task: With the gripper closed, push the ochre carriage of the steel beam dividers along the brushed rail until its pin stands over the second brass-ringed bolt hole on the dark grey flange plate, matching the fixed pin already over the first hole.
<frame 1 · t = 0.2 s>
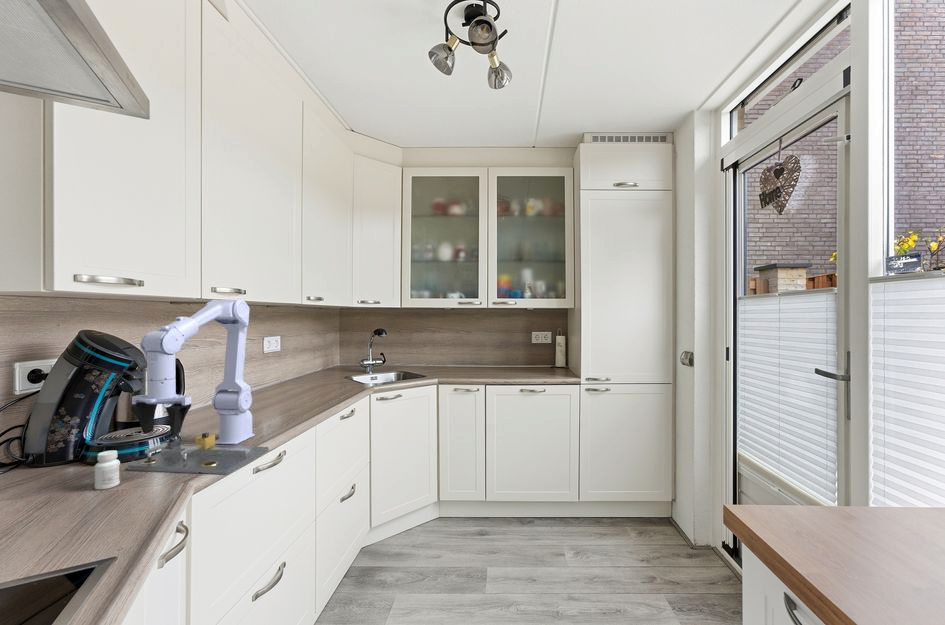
hand: (162, 432, 103), 10 cm above the countertop, fingers open, 7 cm apart
rail: (205, 458, 113), resting on flange plate
pill bottle: (107, 486, 95), on the countertop
fixed leg: (171, 456, 114), resting on flange plate
sliding leg: (196, 446, 110), point 4 cm above the countertop, slide at 0.0 cm
flange plate: (202, 460, 111), on the countertop
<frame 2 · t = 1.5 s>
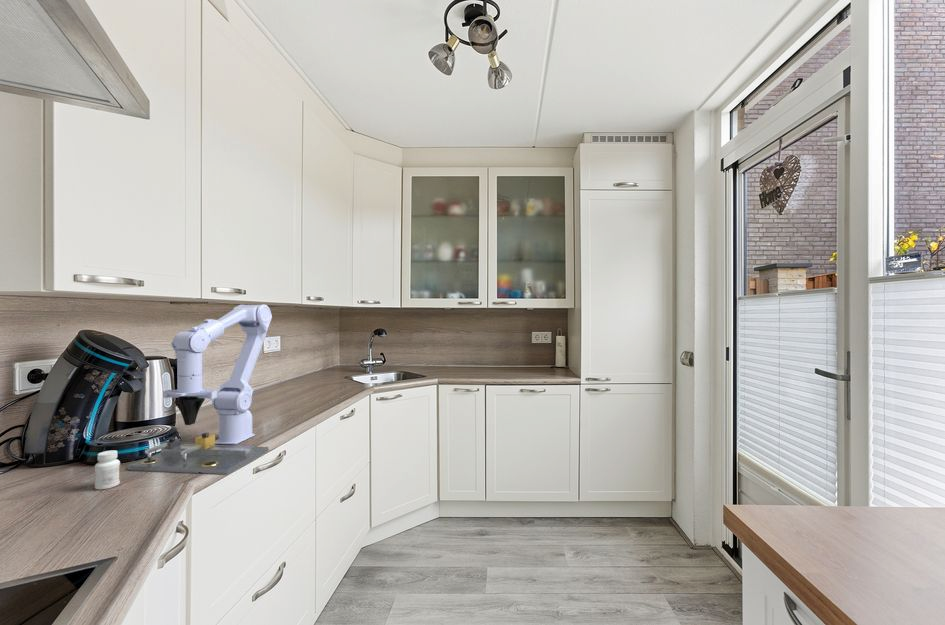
hand: (190, 424, 113), 9 cm above the countertop, fingers closed
nothing on the countertop moved.
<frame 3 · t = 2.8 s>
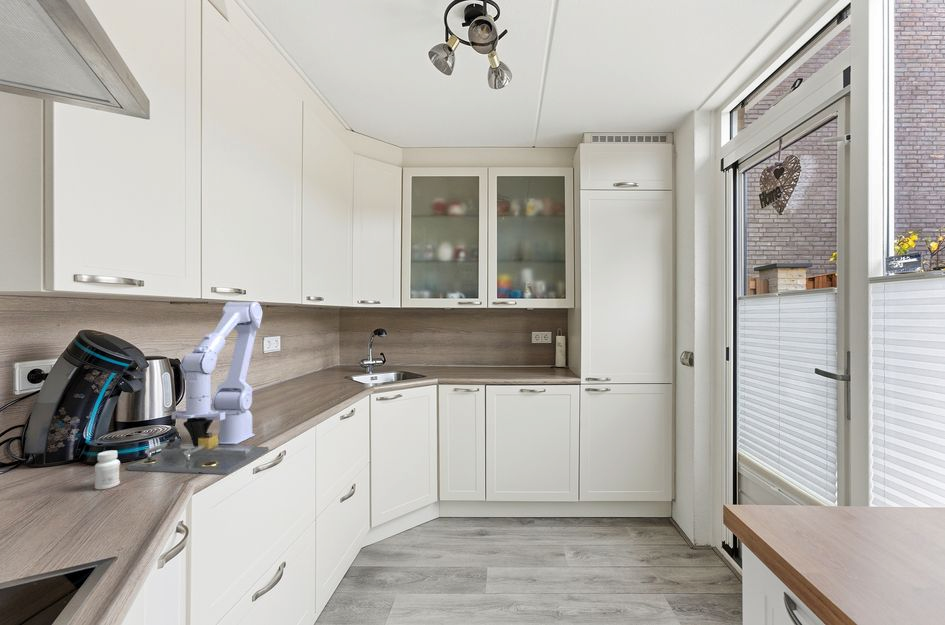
hand: (198, 445, 113), 3 cm above the countertop, fingers closed
sliding leg: (199, 446, 110), point 4 cm above the countertop, slide at 0.9 cm, touching gripper
everything else where it was.
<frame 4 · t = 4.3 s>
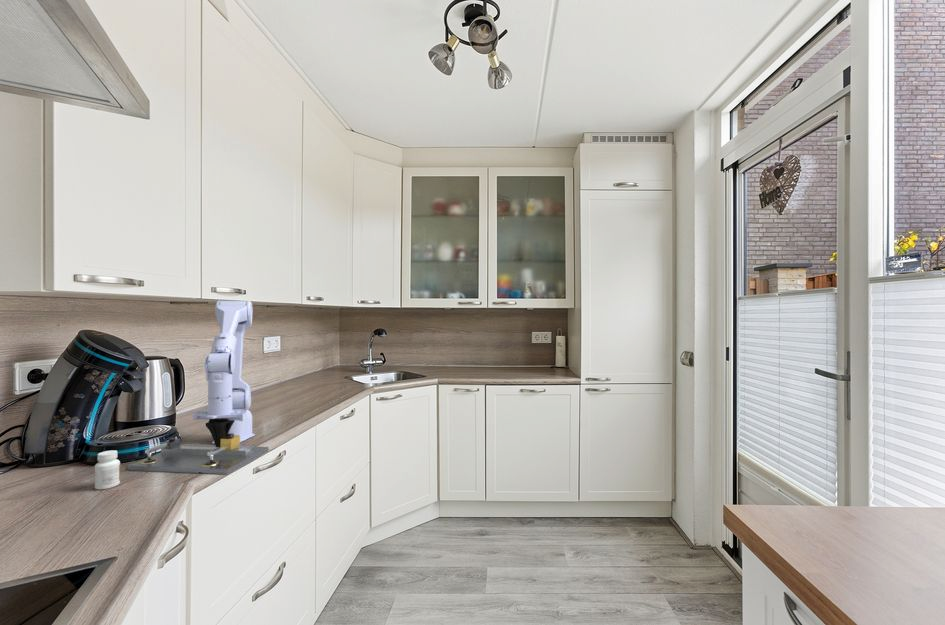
hand: (220, 446, 112), 3 cm above the countertop, fingers closed
sliding leg: (222, 447, 109), point 4 cm above the countertop, slide at 7.4 cm, touching gripper
everything else where it was.
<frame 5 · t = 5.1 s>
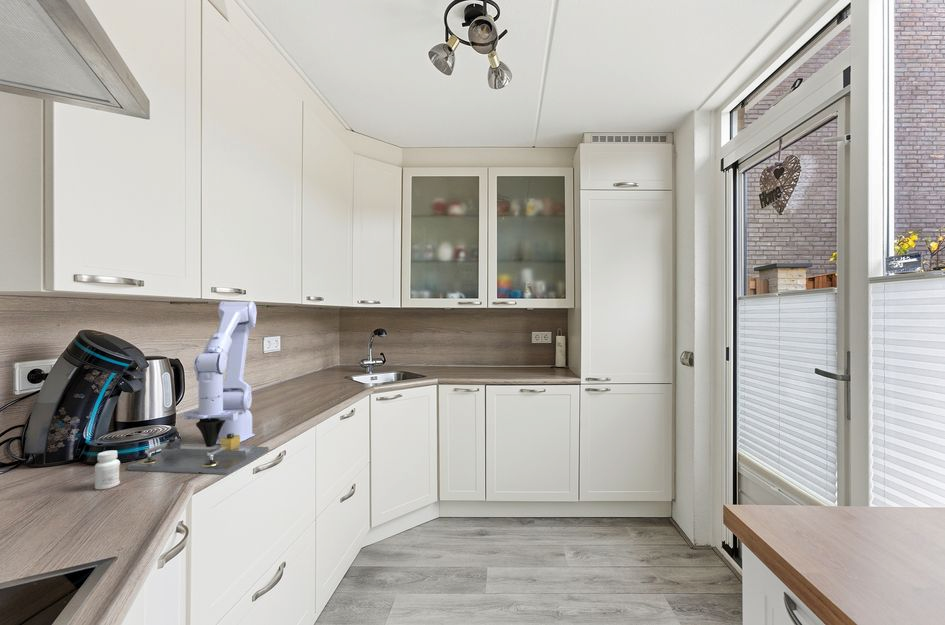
hand: (211, 445, 113), 3 cm above the countertop, fingers closed
sliding leg: (222, 447, 109), point 4 cm above the countertop, slide at 7.4 cm
everything else where it was.
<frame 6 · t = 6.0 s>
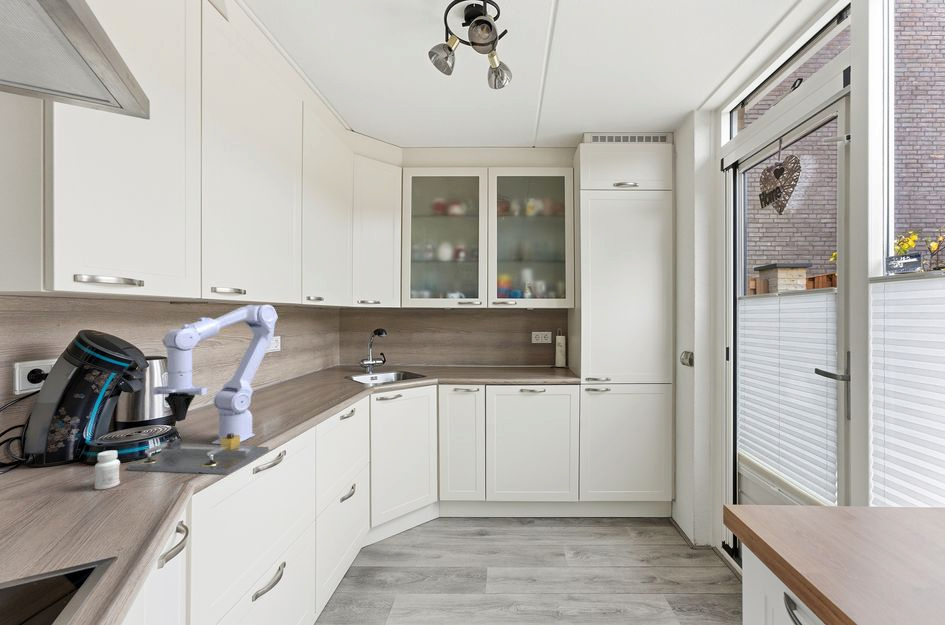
hand: (180, 420, 115), 10 cm above the countertop, fingers closed
nothing on the countertop moved.
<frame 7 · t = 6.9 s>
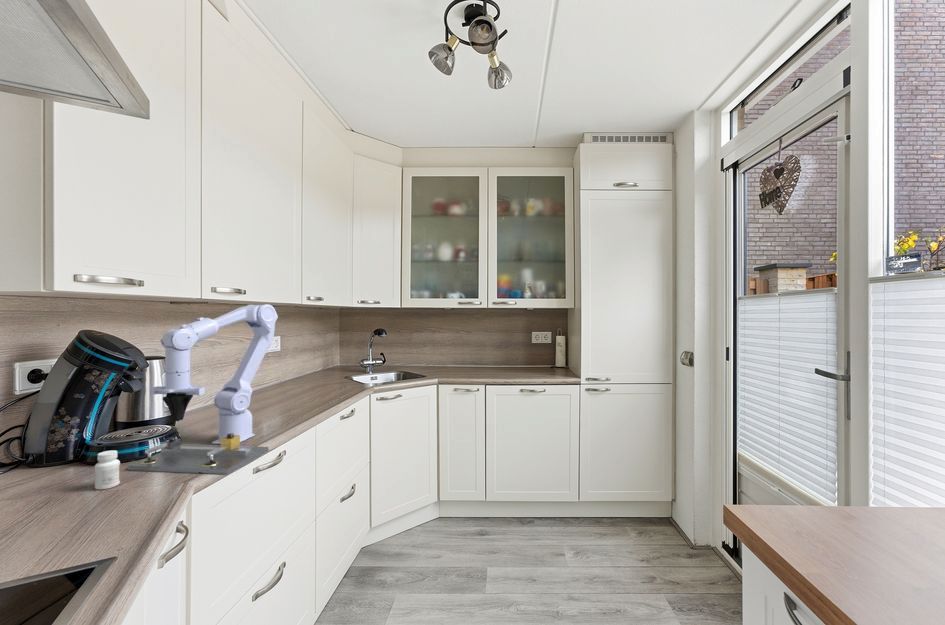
hand: (178, 420, 115), 10 cm above the countertop, fingers closed
nothing on the countertop moved.
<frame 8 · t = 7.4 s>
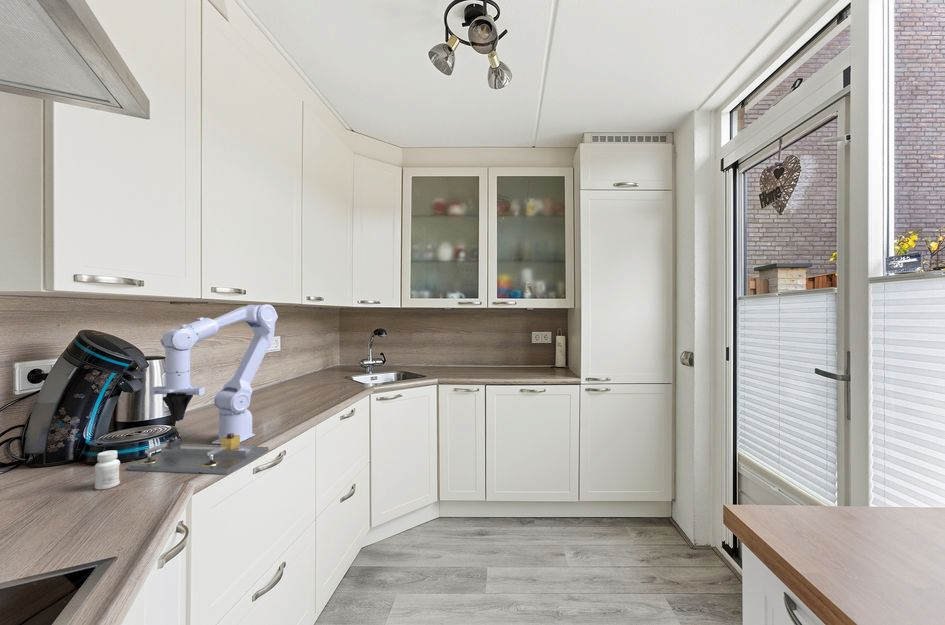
hand: (178, 420, 115), 10 cm above the countertop, fingers closed
nothing on the countertop moved.
at the end: sliding leg slide at 7.4 cm; sliding leg 0.4 cm from the target spot, resting on flange plate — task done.
